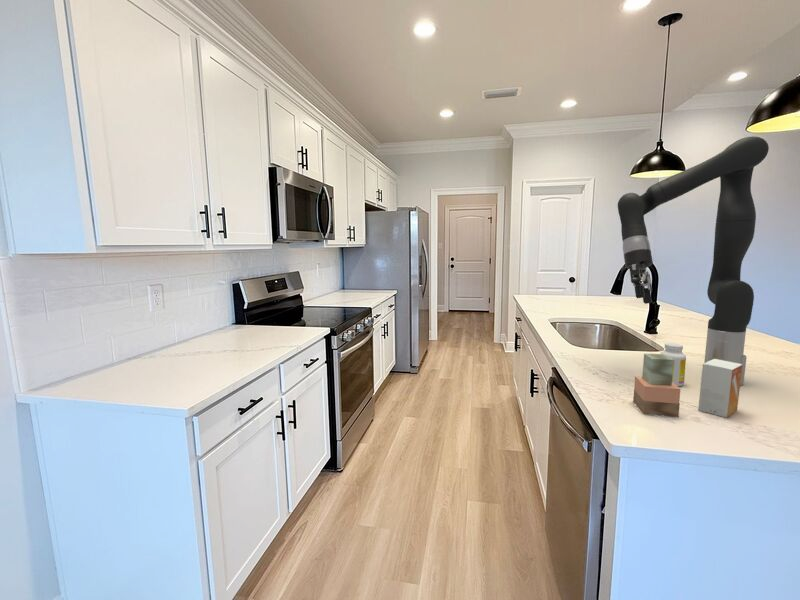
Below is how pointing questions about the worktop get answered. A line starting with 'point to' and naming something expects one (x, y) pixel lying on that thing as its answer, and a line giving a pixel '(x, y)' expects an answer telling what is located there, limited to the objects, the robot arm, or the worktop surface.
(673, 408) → the tower base block
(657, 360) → the green block
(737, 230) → the robot arm
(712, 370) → the small box
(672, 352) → the supplement bottle
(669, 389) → the tower top block
